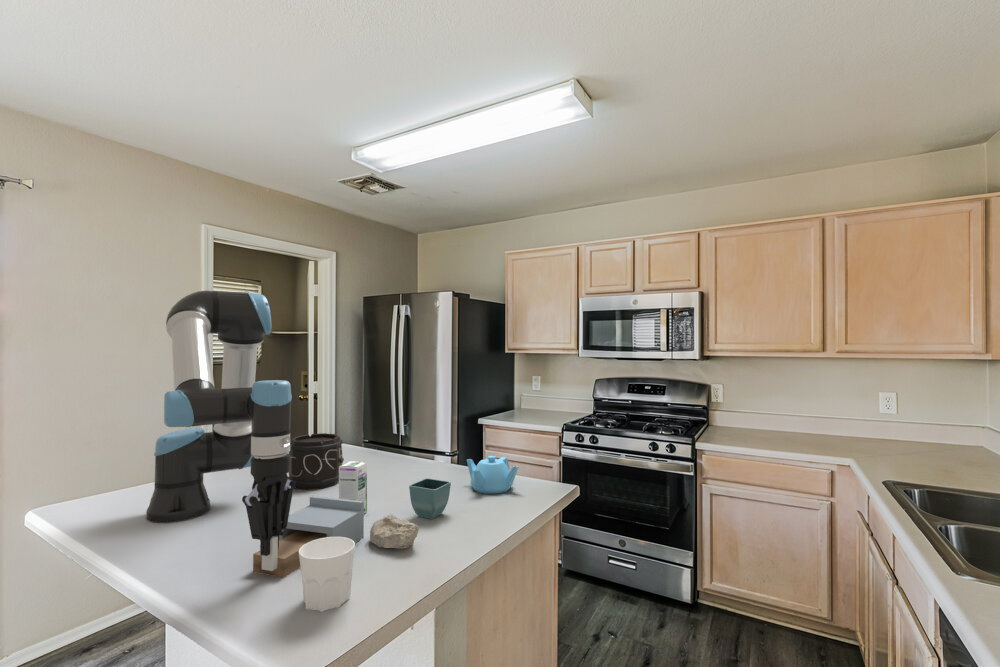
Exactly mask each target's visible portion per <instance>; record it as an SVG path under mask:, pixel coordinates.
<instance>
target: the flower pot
mask: <svg viewBox="0 0 1000 667" xmlns="http://www.w3.org/2000/svg"><path fill="white" fill-rule="evenodd" d="M451 483H452V481H447V480H446V481H445V480H440V479H434V478H428V477H426V478H423V479H421V480H419V481H417V482H414V483H411V484H410V485H409V486H408V489H409V495H410V497H409V499H410V504H411V507H412V509H413V511H414V513H415V514H416V516H417V517H420V518H427V519H430V520H432V519H435V518H437V517H438V516H440V515H442V514H443V512H444V510H446V507H447V506H448V505H447V504H448V503H449V500H450V499H449V498H450V492H451Z"/></svg>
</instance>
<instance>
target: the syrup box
mask: <svg viewBox="0 0 1000 667" xmlns="http://www.w3.org/2000/svg"><path fill="white" fill-rule="evenodd" d="M367 465H368V464H367V462H366V461H360V460H359V461H358V460H357V461H355V460H354V461H350V460H349V461H348V462H347V463H346V462H345V463H344V464H342V466H339V482H338V499H348V500H357V501H364V515H365V514H366V513H368V484H367V483H368V481H367V480H368V477H367V476H368V474H367V471H368V470H367V469H368V466H367Z"/></svg>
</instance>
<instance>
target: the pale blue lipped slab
mask: <svg viewBox="0 0 1000 667" xmlns="http://www.w3.org/2000/svg"><path fill="white" fill-rule="evenodd" d="M364 517H365V514H364V501H357V500H348V499H339V497H338V498H337V497H336V498H335V497H327V496H326V497H325V496H318V495H311V496H309V505H307V506H305V507H303V508H301V509H299V510H297V511H295V512H292V513H289V517H288V523H287V527H286V529H283V530H282V531H284V534H283V535H282V536H280V535H279V540H280V539H282V538H284V537H286V536H288V535H290V534H291V533H293V532H295V531H297V530H302V531H310V532H318V533H325V534H327V537H345V538H349V539H351V540H353V541H354V543H355V544H357V543H358V542H359V541H361V540H362V539H364V534H365V533H364V532H365V531H364V529H365V528H364V527H365V526H364V519H365V518H364ZM281 523H282V521H281Z"/></svg>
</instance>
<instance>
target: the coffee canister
mask: <svg viewBox="0 0 1000 667" xmlns="http://www.w3.org/2000/svg"><path fill="white" fill-rule="evenodd" d="M343 443H344V442H343V440H342V439H341V436H340V435H337V434H335V433H326V432H324V433H323V432H321V433H311V435H309V433H308V434H302V435H297V436H295V437H293V438H290V451H289V452H288V454H289V455H290V471H289V472H288V480H290V481H295V482H296V485H295V488H294V489H297V490H306V491H308V490H317V489H318V490H319V489H326V488H329V487H332V486H335V485H337V483H338V484H339V466H342V465H343V462H344V460H345V459H344V457H343V447H342V444H343Z"/></svg>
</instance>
